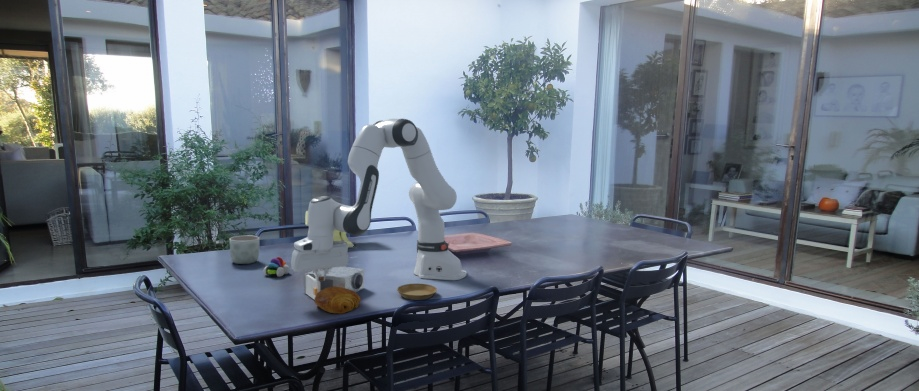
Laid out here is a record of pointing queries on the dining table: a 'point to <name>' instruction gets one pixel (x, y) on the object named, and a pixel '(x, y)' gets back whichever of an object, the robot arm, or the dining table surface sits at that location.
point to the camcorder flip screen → (311, 286)
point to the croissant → (337, 299)
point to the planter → (244, 249)
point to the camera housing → (342, 278)
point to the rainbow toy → (276, 267)
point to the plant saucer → (417, 291)
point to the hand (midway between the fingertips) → (320, 280)
